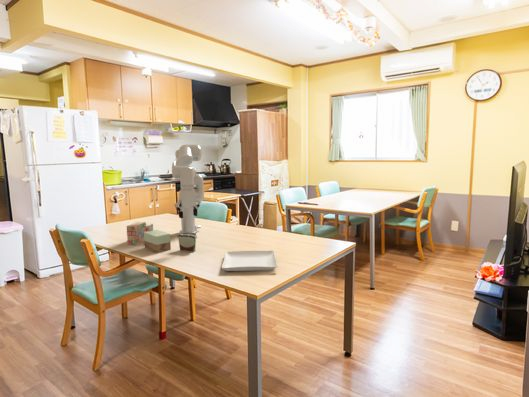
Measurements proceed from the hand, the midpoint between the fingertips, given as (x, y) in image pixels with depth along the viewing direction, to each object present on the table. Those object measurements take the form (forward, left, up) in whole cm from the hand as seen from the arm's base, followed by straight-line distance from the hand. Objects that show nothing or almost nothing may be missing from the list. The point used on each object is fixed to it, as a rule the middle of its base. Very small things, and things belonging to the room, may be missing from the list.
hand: (188, 216), depth 199 cm
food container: (0, 0, -20) cm, 20 cm away
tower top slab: (+12, -16, -15) cm, 25 cm away
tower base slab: (+12, -16, -20) cm, 29 cm away
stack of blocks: (+10, -42, -20) cm, 48 cm away
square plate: (-7, +45, -21) cm, 50 cm away
